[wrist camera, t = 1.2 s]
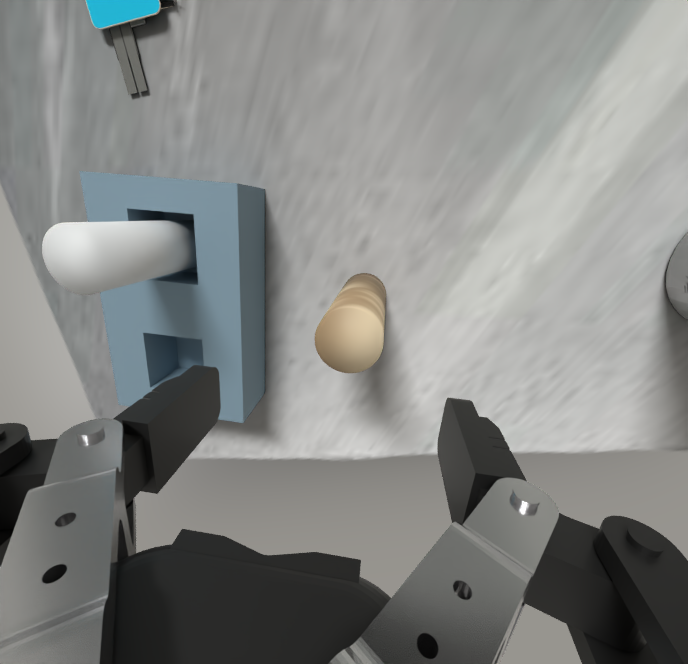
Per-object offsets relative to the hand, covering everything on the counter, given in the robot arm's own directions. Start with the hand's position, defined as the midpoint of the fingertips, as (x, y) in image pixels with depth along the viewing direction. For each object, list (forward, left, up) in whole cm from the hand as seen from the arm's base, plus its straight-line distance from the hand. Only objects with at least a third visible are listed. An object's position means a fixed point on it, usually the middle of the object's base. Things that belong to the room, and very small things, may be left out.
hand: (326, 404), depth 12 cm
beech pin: (0, 0, -17) cm, 17 cm away
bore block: (+14, +1, -17) cm, 22 cm away
